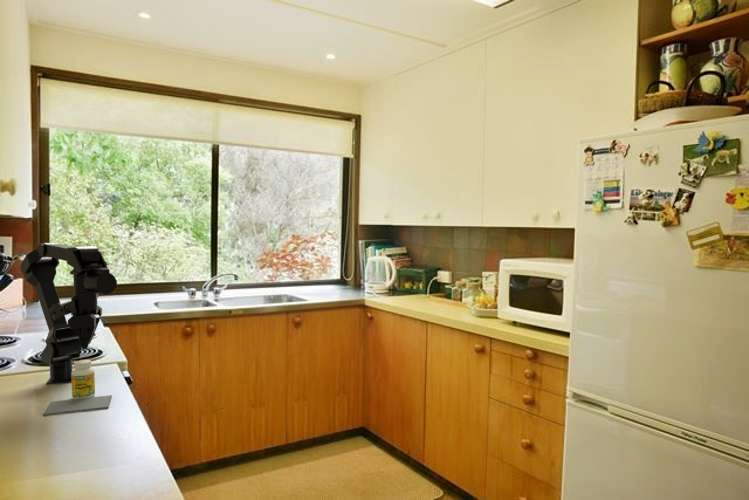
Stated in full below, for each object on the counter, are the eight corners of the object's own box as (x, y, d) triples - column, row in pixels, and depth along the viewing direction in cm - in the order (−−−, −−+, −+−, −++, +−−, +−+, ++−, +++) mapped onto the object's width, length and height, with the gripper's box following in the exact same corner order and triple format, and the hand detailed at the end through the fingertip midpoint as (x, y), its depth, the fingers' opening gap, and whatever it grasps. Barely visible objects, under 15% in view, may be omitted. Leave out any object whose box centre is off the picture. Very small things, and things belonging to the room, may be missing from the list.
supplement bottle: (94, 392, 139) (93, 357, 139) (95, 397, 135) (95, 362, 134) (71, 395, 136) (70, 360, 136) (72, 401, 132) (71, 365, 132)
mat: (50, 403, 130) (50, 401, 130) (111, 397, 136) (111, 395, 136) (43, 415, 122) (43, 413, 122) (108, 408, 127) (108, 406, 127)
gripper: (58, 288, 147) (59, 341, 147) (44, 297, 129) (45, 357, 130) (101, 286, 151) (102, 338, 152) (93, 295, 134) (94, 353, 135)
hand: (86, 346), depth 142 cm, fingers open, 6 cm apart
